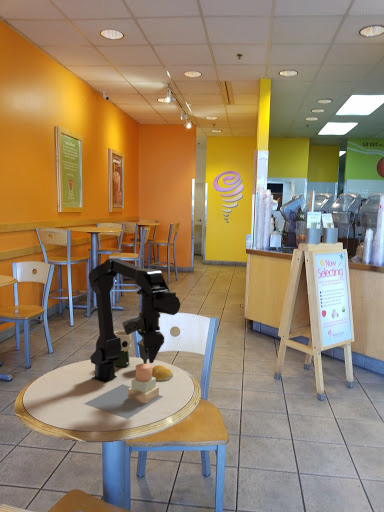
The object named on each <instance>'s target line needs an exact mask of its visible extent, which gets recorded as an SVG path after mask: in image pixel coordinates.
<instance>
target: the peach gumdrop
mask: <svg viewBox="0 0 384 512" xmlns="http://www.w3.org/2000/svg"><path fill="white" fill-rule="evenodd" d="M152 368H153V365H152V364H151V363H147V364H143V363H140V364H137V365H136V366H135V378H136V380H137V381H139V382H148V381H151V380H152Z"/></svg>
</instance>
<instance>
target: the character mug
mask: <svg viewBox="0 0 384 512" xmlns="http://www.w3.org/2000/svg"><path fill="white" fill-rule="evenodd" d="M114 334H115V335H116V336H117V338H120V339H121V347H122V349H121V354H120V356H119V359H118V360H117V361H113V362H114V366H117V367H127V365H130V354H129V350H130V349H131V347H132V333H131V334H129V335H126V333H125V330H124V329H122V330H114Z"/></svg>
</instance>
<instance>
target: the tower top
mask: <svg viewBox="0 0 384 512" xmlns="http://www.w3.org/2000/svg"><path fill="white" fill-rule="evenodd" d="M156 386H157V380H156V378H154V377H152V380H151V381H148V382H139V381H137V380H136V377H134V378H132V379H131V387H132V389H134V390H137V391H141V392H144V393H146V392H148V391H150V390H151V389H153V388H155V387H156Z"/></svg>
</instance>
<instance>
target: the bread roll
mask: <svg viewBox="0 0 384 512" xmlns="http://www.w3.org/2000/svg"><path fill="white" fill-rule="evenodd" d="M152 377H154V378H156V382H159V381H161V382H162V381H163V382H165V381H170V380H171V379H173V377H174V373H173V371H172V370H171V369H169V368H167V367H166V366H164V365H155V366H152Z"/></svg>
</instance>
